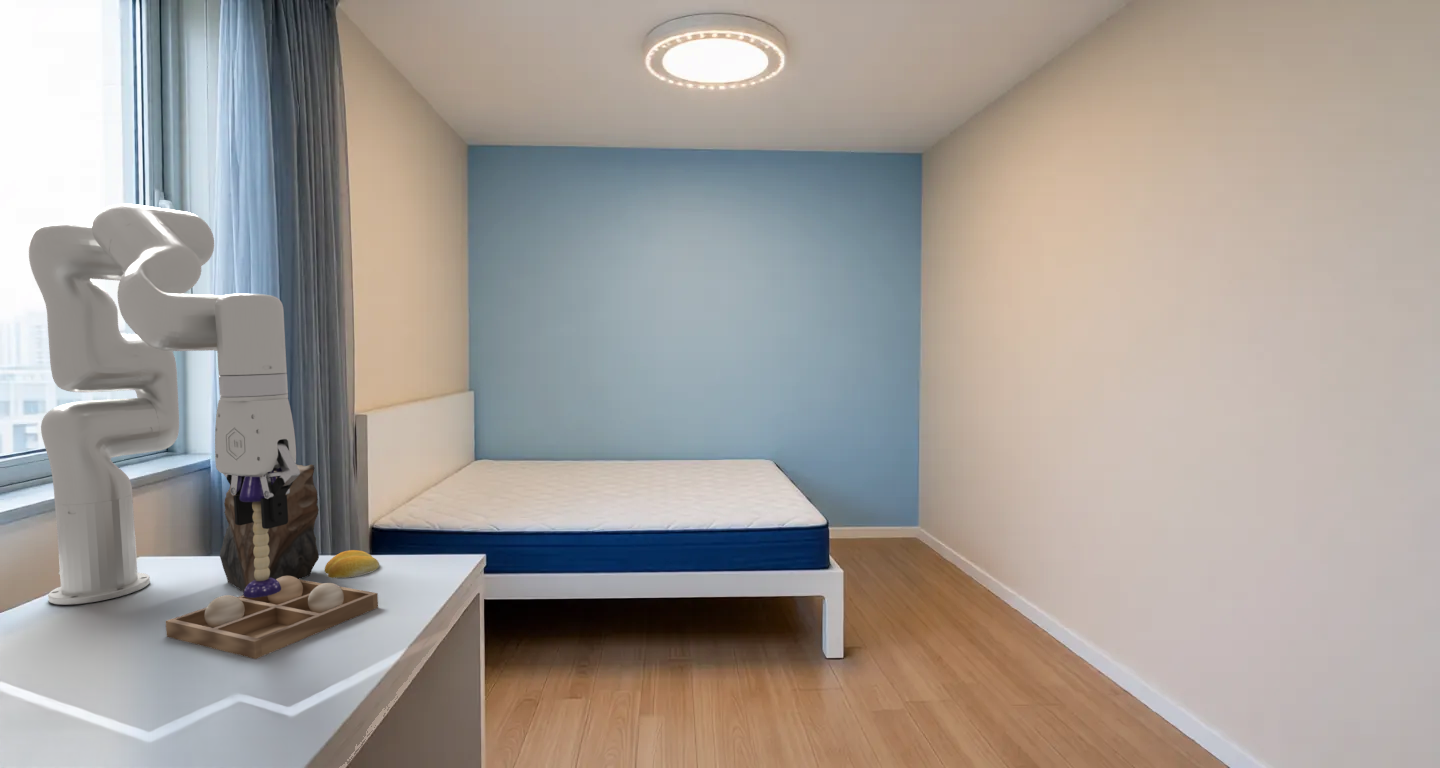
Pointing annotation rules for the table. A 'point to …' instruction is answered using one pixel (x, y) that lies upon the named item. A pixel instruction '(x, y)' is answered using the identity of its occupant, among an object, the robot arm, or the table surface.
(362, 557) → the bread roll
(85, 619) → the table surface
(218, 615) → the egg
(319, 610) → the egg
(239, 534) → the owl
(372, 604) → the organizer
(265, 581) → the toy lamp
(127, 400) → the robot arm
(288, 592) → the egg
